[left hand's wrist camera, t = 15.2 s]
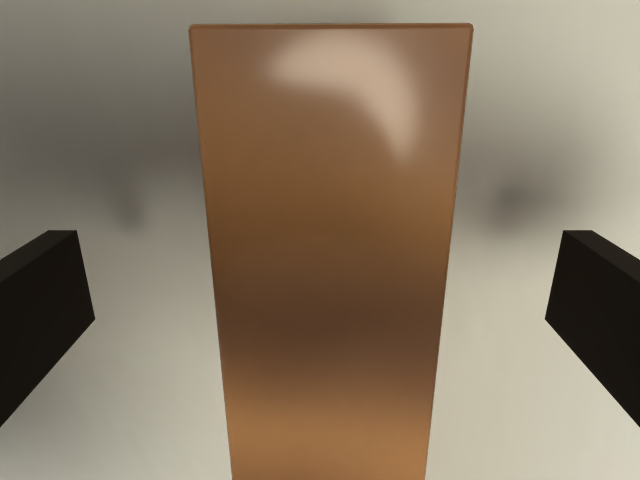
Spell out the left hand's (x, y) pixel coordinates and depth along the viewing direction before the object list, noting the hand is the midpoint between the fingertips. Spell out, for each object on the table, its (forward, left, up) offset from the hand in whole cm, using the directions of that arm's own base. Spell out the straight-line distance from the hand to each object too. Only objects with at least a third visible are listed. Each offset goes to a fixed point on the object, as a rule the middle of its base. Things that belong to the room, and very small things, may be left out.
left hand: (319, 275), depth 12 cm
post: (+18, -19, -5) cm, 26 cm away
